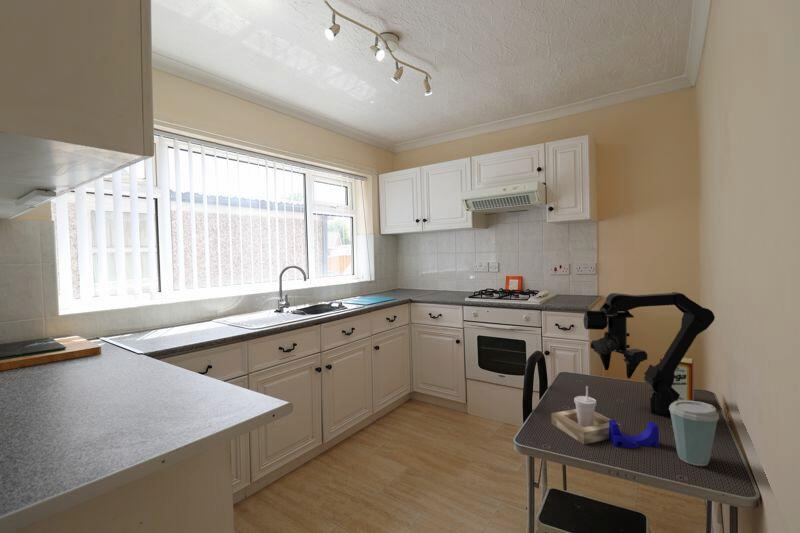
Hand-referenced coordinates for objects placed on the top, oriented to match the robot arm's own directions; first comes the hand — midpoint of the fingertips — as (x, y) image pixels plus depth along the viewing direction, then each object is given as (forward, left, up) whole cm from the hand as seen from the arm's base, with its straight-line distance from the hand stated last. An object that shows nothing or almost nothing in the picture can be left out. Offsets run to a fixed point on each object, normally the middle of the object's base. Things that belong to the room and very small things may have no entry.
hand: (617, 373), depth 132 cm
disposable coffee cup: (-24, +20, -13) cm, 34 cm away
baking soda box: (-13, -23, -13) cm, 30 cm away
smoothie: (+3, +22, -13) cm, 26 cm away
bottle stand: (+3, +22, -13) cm, 26 cm away
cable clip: (-11, +21, -13) cm, 27 cm away
